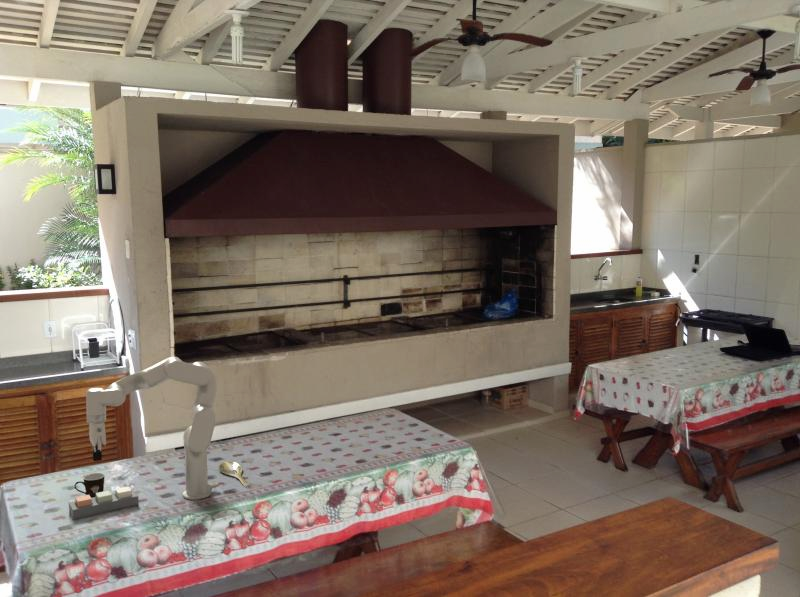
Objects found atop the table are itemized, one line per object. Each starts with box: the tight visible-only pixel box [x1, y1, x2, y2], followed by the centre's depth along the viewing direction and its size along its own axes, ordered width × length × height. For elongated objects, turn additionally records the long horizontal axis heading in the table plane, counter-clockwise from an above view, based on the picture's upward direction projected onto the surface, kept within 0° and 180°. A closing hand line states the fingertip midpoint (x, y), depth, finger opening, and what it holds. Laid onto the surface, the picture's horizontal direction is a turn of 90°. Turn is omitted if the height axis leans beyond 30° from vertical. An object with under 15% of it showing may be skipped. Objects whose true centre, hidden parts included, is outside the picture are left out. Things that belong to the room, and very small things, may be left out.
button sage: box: [96, 490, 112, 503], centre depth 303 cm, size 5×5×4 cm
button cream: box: [114, 486, 132, 499], centre depth 308 cm, size 5×5×4 cm
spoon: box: [218, 460, 249, 486], centre depth 342 cm, size 35×11×2 cm, turn 32°
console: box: [68, 488, 140, 521], centre depth 304 cm, size 26×9×4 cm, turn 124°
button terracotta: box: [74, 494, 92, 508], centre depth 299 cm, size 5×5×4 cm
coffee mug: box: [74, 472, 105, 498], centre depth 315 cm, size 12×9×10 cm
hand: (97, 460), depth 300 cm, fingers closed
